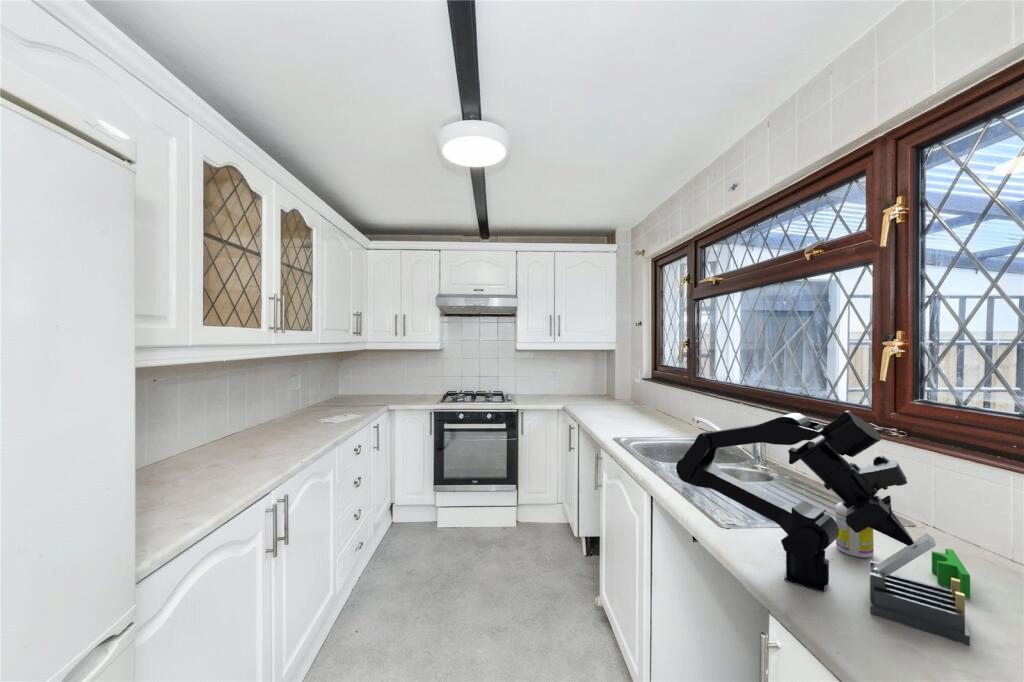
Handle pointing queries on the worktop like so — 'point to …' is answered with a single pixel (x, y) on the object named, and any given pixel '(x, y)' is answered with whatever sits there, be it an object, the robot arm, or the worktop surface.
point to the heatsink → (920, 605)
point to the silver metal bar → (904, 556)
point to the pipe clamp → (950, 570)
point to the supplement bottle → (852, 536)
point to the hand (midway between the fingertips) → (911, 544)
